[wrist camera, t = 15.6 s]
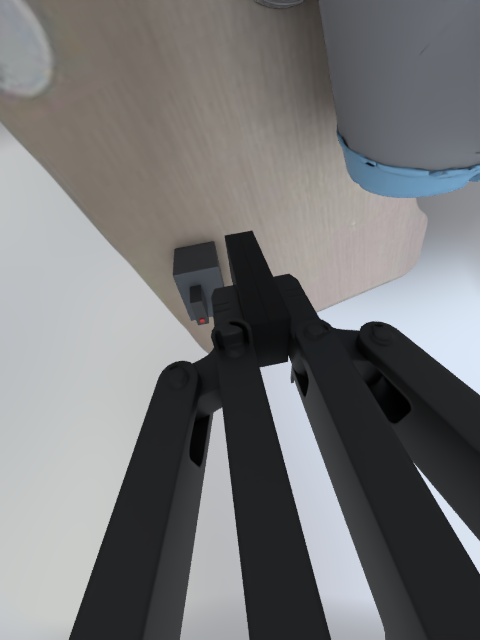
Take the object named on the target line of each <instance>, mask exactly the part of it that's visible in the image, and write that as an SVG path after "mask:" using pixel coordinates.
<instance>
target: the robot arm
mask: <svg viewBox="0 0 480 640" xmlns="http://www.w3.org/2000/svg"><path fill="white" fill-rule="evenodd" d="M254 1H255V2H257V3H259V4H261V5H264V6H266V7H270V8H289V7H292V6H295V5H298V4H300V3H302V2H304V1H306V0H254ZM318 2H319V8H320V14H321V20H322V27H323V33H324V39H325V45H326V51H327V57H328V64H329V71H330V77H331V84H332V91H333V98H334V104H335V111H336V118H337V137H338V141H339V143H340V145H341V146H342V148H343V153H344V158H345V162H346V167H347V171H348V173H349V175H350V177H351V178H352V180H353V181H354V182H356V183H358V184H359V185H360V186H361V187H362V188H363V189H364V190H366V191H369V192H371V193H374V194H377V195H382V196H387V197H397V198H414V197H425V196H432V195H438V194H442V193H447V192H450V191H454V190H457V189H460V188H463V187H464V186H465V185H466V184H467V182H468V181H480V0H318ZM225 241H226V247H227V253H228V260H229V266H230V272H231V278H232V282H233V285H232V286H227V287H221V288H216V289H214V291H213V294H212V296H211V301H212V309H213V317H214V326H215V327H214V329H213V330H212V334H211V338H212V341H213V345H214V348H213V350H212V351H211V352H210V353H209V354H208V355H207V356H206V357H204V358H202V359H201V360H199V361H197V362H195V363H193V364H192V363H190V362H187V361H178V362H174V363H172V364H170V365H168V366H167V367H166V368H165V369H164V370H163V371H162V373H161V374H160V376H159V378H158V381H157V384H156V387H155V390H154V393H153V396H152V399H151V401H150V405H149V408H148V410H147V413H146V416H145V419H144V422H143V425H142V428H141V431H140V433H139V436H138V439H137V442H136V445H135V448H134V451H133V454H132V457H131V460H130V463H129V466H128V468H127V471H126V474H125V477H124V480H123V483H122V486H121V489H120V492H119V495H118V498H117V501H116V503H115V506H114V509H113V512H112V515H111V518H110V521H109V524H108V527H107V530H106V533H105V536H104V538H103V541H102V544H101V547H100V550H99V553H98V556H97V559H96V562H95V565H94V567H93V570H92V573H91V576H90V579H89V582H88V585H87V588H86V591H85V594H84V597H83V600H82V603H81V606H80V608H79V612H78V614H77V617H76V620H75V623H74V626H73V629H72V632H71V635H70V637H69V640H180V634H181V627H182V620H183V613H184V607H185V600H186V594H187V587H188V580H189V573H190V567H191V560H192V553H193V546H194V540H195V533H196V526H197V520H198V513H199V506H200V499H201V493H202V486H203V479H204V473H205V466H206V459H207V452H208V446H209V439H210V432H211V426H212V419H213V412H215V411H216V410H218V409H220V408H223V417H224V425H225V433H226V442H227V451H228V459H229V468H230V477H231V485H232V494H233V502H234V510H235V519H236V528H237V536H238V545H239V554H240V562H241V569H242V570H241V571H242V579H243V587H244V596H245V605H246V613H247V622H248V630H249V639H250V640H331V637H330V634H329V630H328V626H327V622H326V618H325V614H324V611H323V607H322V603H321V599H320V595H319V592H318V588H317V584H316V580H315V576H314V573H313V569H312V565H311V561H310V558H309V554H308V550H307V546H306V542H305V539H304V535H303V531H302V527H301V523H300V520H299V516H298V512H297V508H296V504H295V501H294V497H293V494H292V489H291V485H290V482H289V478H288V474H287V470H286V467H285V463H284V459H283V455H282V451H281V448H280V444H279V440H278V436H277V432H276V429H275V425H274V421H273V417H272V413H271V410H270V406H269V402H268V398H267V395H266V390H265V387H264V383H263V379H262V375H261V372H260V368H259V367H264V366H269V365H274V364H279V363H284V362H288V355H289V358H290V361H291V363H292V369H291V383H294V380H295V383H296V386H297V388H298V391H299V394H300V397H301V400H302V402H303V405H304V408H305V411H306V413H307V416H308V419H309V422H310V424H311V427H312V430H313V433H314V435H315V438H316V441H317V444H318V446H319V449H320V452H321V455H322V457H323V460H324V463H325V466H326V468H327V471H328V474H329V477H330V479H331V482H332V485H333V488H334V491H335V493H336V496H337V498H338V502H339V504H340V507H341V510H342V512H343V515H344V518H345V521H346V524H347V526H348V529H349V532H350V535H351V537H352V540H353V543H354V545H355V548H356V551H357V554H358V557H359V559H360V562H361V565H362V567H363V570H364V573H365V576H366V579H367V581H368V584H369V587H370V590H371V592H372V595H373V598H374V601H375V604H376V606H377V609H378V612H379V615H380V617H381V620H382V623H383V626H384V631H385V640H480V574H479V572H478V571H477V569H476V567H475V565H474V564H473V562H472V560H471V559H470V557H469V555H468V554H467V552H466V550H465V549H464V547H463V545H462V543H461V542H460V540H459V538H458V537H457V535H456V533H455V532H454V530H453V528H452V527H451V525H450V523H449V522H448V520H447V518H446V517H445V515H444V513H443V512H442V510H441V508H440V507H439V505H438V503H437V502H436V500H435V498H434V497H433V495H432V493H431V491H430V490H429V488H428V486H427V485H426V483H425V481H424V480H423V478H422V477H421V475H420V473H419V472H418V470H417V468H416V466H417V467H418V468H419V469H420V470H421V472H422V473H423V474H424V475H425V476H426V477H427V479H428V480H429V481H430V482H431V484H432V485H433V486H434V487H435V488H436V490H437V491H438V492H439V493H440V494H441V495H442V497H443V498H444V499H445V500H446V501H447V503H448V504H449V505H450V506H451V507H452V508H453V510H454V511H455V512H456V513H457V514H458V515H459V517H460V518H461V519H462V520H463V522H464V523H465V524H466V525H467V526H468V528H469V529H470V530H471V531H472V532H473V533H474V535H475V536H476V537H477V538H478V539H479V540H480V395H479V394H478V393H476V392H475V391H474V390H473V389H471V388H470V387H469V386H468V385H466V384H465V383H464V382H463V381H461V380H460V379H458V377H456V376H455V375H454V374H453V373H451V372H450V371H449V370H448V369H446V368H445V367H444V366H442V365H441V364H440V363H439V362H437V361H436V360H435V359H434V358H432V357H431V356H430V355H429V354H428V353H426V352H425V351H424V350H423V349H421V348H420V347H419V346H417V345H416V344H415V343H414V342H412V341H411V340H410V339H409V338H407V337H406V336H405V335H404V334H402V333H401V332H400V331H399V330H397V329H396V328H394V327H392V326H391V325H389V324H386V323H383V322H374V321H373V322H368V323H366V324H364V325H363V326H361V329H360V331H357V330H356V331H355V330H342V329H336V328H333V327H331V325H330V324H329V323H327V322H325V321H324V320H321V319H320V318H319V317H318V315H317V313H316V311H315V310H314V308H313V306H312V304H311V303H310V301H309V299H308V297H307V296H306V295H305V292H304V290H303V289H302V287H301V285H300V283H299V281H298V280H297V279H296V278H295V277H293V276H292V275H290V274H285V275H280V276H275V277H273V275H272V273H271V271H270V269H269V267H268V264H267V262H266V260H265V258H264V256H263V253H262V251H261V249H260V247H259V244H258V242H257V240H256V238H255V236H254V233H253V231H247V232H242V233H237V234H231V235H226V236H225ZM413 462H414V463H415V465H416V466H415V465H414V463H413Z"/></svg>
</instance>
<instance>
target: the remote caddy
mask: <svg viewBox="0 0 480 640" xmlns="http://www.w3.org/2000/svg"><path fill="white" fill-rule="evenodd" d="M173 277H174V280H175V282H176V285H177V287H178V290H179V292H180V294H181V297H182V299H183V302H184V304H185V307H186V309H187V312H188V314H189V317H190V319H191V321H192V320H196V321H197V323H198V325H202V324H207V323H209V317H212V316H213V309H212V301H211V296H212V294H213V291H214V289H216V288H221V287H224V284H223V279H222V275H221V270H220V266H219V261H218V256H217V252H216V247H215V243H214V242H209V243H204V244H199V245H193V246H188V247H183V248H178V249H175V251H174V266H173Z"/></svg>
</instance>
